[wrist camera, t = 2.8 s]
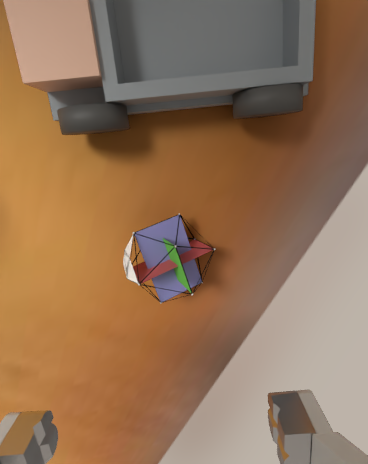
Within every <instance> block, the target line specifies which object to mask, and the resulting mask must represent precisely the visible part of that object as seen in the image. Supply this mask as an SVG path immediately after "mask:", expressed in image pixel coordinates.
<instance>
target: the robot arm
mask: <svg viewBox="0 0 368 464" xmlns="http://www.w3.org/2000/svg"><path fill="white" fill-rule="evenodd" d="M268 403H269V406H270V409H269V410H268V419H269V426H270V431H271V434H272V437H273V441H274V442H275V443H276V444H277V453H278V458H279V461H280V464H368V455H366V454H365V453H364V452H362V451H361V450H360V449H359V448H357V447H356V446H355V445H353V444H352V443H351V442H350V441H348V440H347V439H346V438H345V437H343V436H342V435H341V434H339V433H338V432H333V431H332V429H331V427H330V425H329V423H328V421H327V419H326V417H325V415H324V414H323V412H322V410H321V408H320V406H319V404H318V402H317V400H316V399H315V397H314V395H313V393H312V392H311V391H310V390H301V391H286V392H275V393H269V394H268ZM52 419H53V415H52V412H51V411H27V412H11V413H8V414H7V415H6V416H5V417H4V418H3V420H2V421H1V423H0V464H46V463H47V462H48V461H49V460H50V459H51V458H52V457H53V455H54V452H55V450H56V446H57V441H58V431H57V428H56V426H55V425H54V424H52V423H51V422H52Z"/></svg>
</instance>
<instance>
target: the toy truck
mask: <svg viewBox="0 0 368 464" xmlns="http://www.w3.org/2000/svg"><path fill="white" fill-rule="evenodd" d="M3 2H4V6H5V10H6V14H7V18H8V22H9V27H10V31H11V35H12V39H13V43H14V47H15V51H16V56H17V60H18V64H19V68H20V72H21V76H22V81H23V83H24V84H27V85H29V86H32V87H35V88H37V89H40V90H42V91H45V92H47V93H48V97H49V102H50V106H51V111H52V116H53V120H55V121H59V123H60V127H61V132H62V134H63V135H79V134H95V133H106V132H115V131H122V130H127V129H130V128H129V121H128V115H132V114H142V113H152V112H162V111H172V110H182V109H192V108H202V107H211V106H221V105H231V104H233V118H234V119H244V118H257V117H266V116H274V115H282V114H288V113H294V112H299V111H302V110H303V96H306V95H308V83H309V82H311V81H313V60H314V35H315V11H316V0H3Z"/></svg>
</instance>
